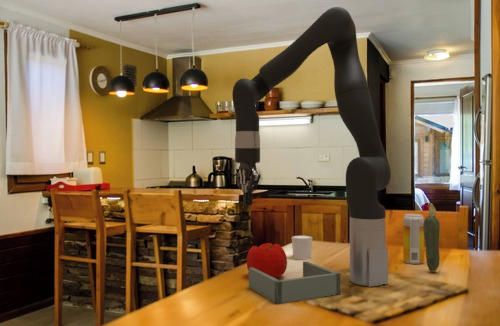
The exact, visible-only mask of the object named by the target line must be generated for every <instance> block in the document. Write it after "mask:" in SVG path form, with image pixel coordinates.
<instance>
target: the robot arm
mask: <svg viewBox="0 0 500 326" xmlns="http://www.w3.org/2000/svg"><path fill="white" fill-rule="evenodd" d="M357 39H358V38H357V30H356V24H355V22H354V19H353V18H352V16H351V14H350V13H349V11H348V10H347V9H345V8H344V7H341V6H334V7H331V8H329V9H327V10H326V11H324V12H323V13H322V14H321V15H320V16H319V17H317V19H316V20H315V21H313V23H312V24H311V25H309V27H308V28H307V29H306V30H305V31H304V32H303V33H302V34H301V35H299V36H298V38H297V39H296V40H294V41H293V42H292V43H290V45H288V46H287V47H286V48H285V49H284V50H282V51H281V52H279V53H278V54H277V55H275V56H274V57H273V58H272V59H270V60H268V61H267V62H266V63H265V64H263V65H262V66H261V67H260V68H259V70H258V73H257V74H255V76H254V77H253V78H251V79H248V78H239V79H238V80H236V82H235V83H234V85H233V87H232V92H231V93H232V102H233V103H232V104H233V110H234V114H235V138H234V162H235V163H236V164H239V168H238V169H239V170H238V172H236V173H235V178H236V180H237V184H238V188H239V190H240V191H241V192H242V200H243V206H252V205H253V193H254V192H255V191H257V188H258V185H259V182H260V179H261V174H260V173H257V164H259V163H260V162H261V137H260V116H259V114H258V112H257V110H256V104H257V103H258V102H260V101H261V100H263V99H264V98H265V97H266V96H267V95H268V94H269V93H270V92H271V91H272V90H273V89H274V88H275V87H276V86H278V85H279V84H281V83H282V82H283V81H286V79H288V78H289V77H291V76H292V75H293V74H295V72H297V70H298V69H299V68H300V67H301V66H302V65H303V63H304V62H305V61H306V60H307V59H308V58H309V56H310V55H311V54H313V53H314V52H315V51H317V49H319V48H321V47H323V46H324V45H326V44H327V45H328V49H329V51H330V54H331V59H332V62H333V69H334V78H333V79H334V80H333V83H334V84H333V87H334V96H335V97H334V98H335V101H336V105H337V110H338V111H337V112H338V113H339V116H340V118H341V121H342V122H343V124H344V126H345V127H346V129H347V130H348V132H349V133H350V134H351V136H352V138H353V139H354V143H355V144H356V147H357V150H358V156H359V157H358V156H357V157H354V158H353V159H352V160H351V161H349V163H348V165H347V166H346V169H345V192H346V193H345V194H346V196H345V197H346V204H347V208H348V210H349V281H350V282H351V283H352V284H355V285H359V286H366V287H368V288H369V287H370V288H372V287H376V286H377V287H378V286H383V284H385V285H388V284H389V249H388V247H386V215H387V213H386V207H385V206H384V205H382V204H381V203H380V202H379V200H378V191H382V190H384V189H386V188H387V186H388V185H389V184H390V182H391V179H392V178H391V176H392V174H391V173H392V172H391V166H390V163H389V160H388V158H387V154H386V151H385V149H384V145H383V143H382V140H381V135H380V132H379V128H378V127H379V126H378V124H377V120H376V115H375V112H374V108H373V107H374V106H373V101H372V96H371V92H370V88H369V85H368V80H367V78H366V74H365V71H364V69H363V68H364V67H363V65H362V63H361V60H360V56H359V50H358V49H359V48H358V40H357Z"/></svg>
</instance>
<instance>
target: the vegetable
mask: <svg viewBox="0 0 500 326" xmlns="http://www.w3.org/2000/svg"><path fill="white" fill-rule="evenodd" d="M427 213H428V216H426V218H424V224H423V229H424V244H425V257H426V265H427V268H428V271H430V272H431V273H433V272H434V273H435V272H436V271H438V268H439V267H440V261H441V260H440V256H441V255H440V230H441V229H440V228H441V227H440V221H439V219H438V218H437V217H436V215H437V210H436V207H435V206H434V204H433V203H431V202H429V203H428V212H427Z"/></svg>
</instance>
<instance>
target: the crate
mask: <svg viewBox="0 0 500 326" xmlns="http://www.w3.org/2000/svg"><path fill="white" fill-rule="evenodd" d="M248 288H249V289H250V290H252V291H254V292H256V293H258V294H259V295H261V296H263V297H265V298H266V299H267V300H269V301H271V302H273V303H274V304H277V305H281V304H286V303H293V302H299V301H300V302H302V301H307V300H312V299H318V298H325V297H324V296H327V297H331V295H333V296H337V295H336V294H339V295H341V273H339V272H336V271H334V270H331V269H329V268H326V267H324V266H320V265H318V264H316V263H312V262H309V261H307V260H304V261H302V276H301V277H294V278H287V279H280V280H279V279H277V278H274V277H271V276H269V275H267V274H265V273H263V272H261V271H259V270H257V269H255V268H249V271H248Z"/></svg>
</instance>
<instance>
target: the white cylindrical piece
mask: <svg viewBox="0 0 500 326" xmlns="http://www.w3.org/2000/svg"><path fill="white" fill-rule="evenodd" d="M291 245H292V255H293V256H292V258H293V259H294V260H298V261H307V260H310V259H311V258H312V256H311V255H312V246H313V236H309V235H301V234H300V235H293V236H291Z"/></svg>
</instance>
